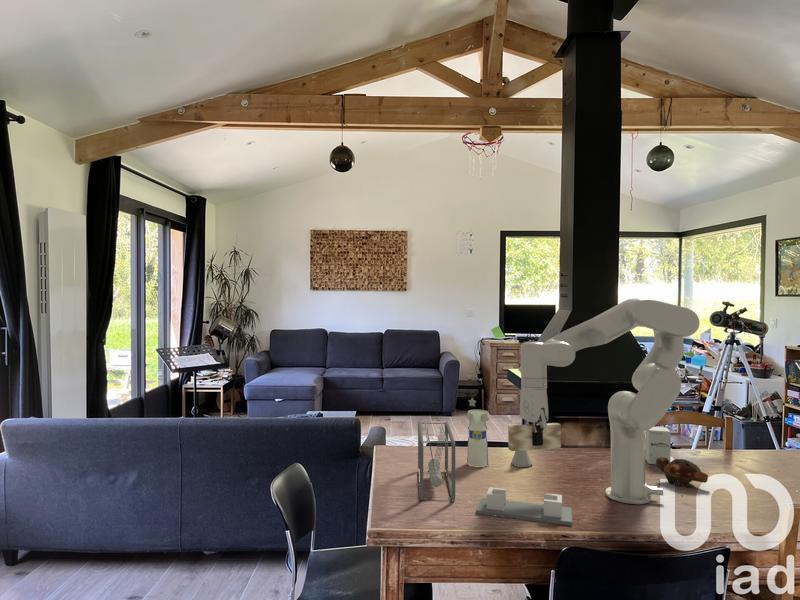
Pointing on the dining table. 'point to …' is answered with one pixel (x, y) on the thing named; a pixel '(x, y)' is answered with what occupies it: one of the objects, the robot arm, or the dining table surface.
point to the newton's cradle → (434, 464)
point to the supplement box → (657, 444)
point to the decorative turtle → (681, 471)
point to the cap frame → (525, 508)
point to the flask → (521, 459)
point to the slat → (523, 437)
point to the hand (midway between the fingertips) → (535, 443)
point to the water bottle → (477, 436)
